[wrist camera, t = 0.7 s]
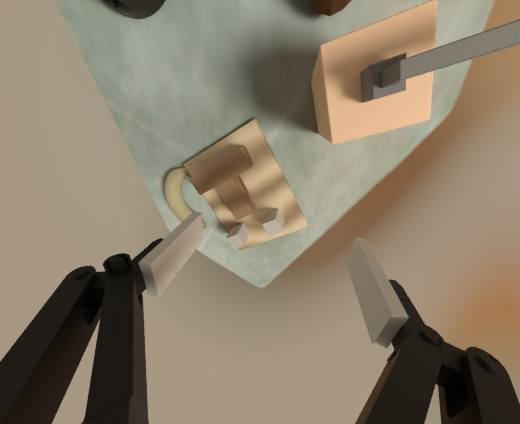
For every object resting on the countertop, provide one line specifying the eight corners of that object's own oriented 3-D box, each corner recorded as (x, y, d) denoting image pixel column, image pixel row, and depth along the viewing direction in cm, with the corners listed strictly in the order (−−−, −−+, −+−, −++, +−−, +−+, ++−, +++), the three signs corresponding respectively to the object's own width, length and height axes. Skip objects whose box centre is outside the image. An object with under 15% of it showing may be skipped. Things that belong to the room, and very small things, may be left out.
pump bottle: (318, 134, 34) (343, 153, 15) (310, 79, 31) (328, 10, 11) (400, 112, 30) (577, 98, 11) (400, 47, 27) (651, -133, 8)
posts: (233, 227, 45) (225, 238, 41) (278, 208, 41) (275, 219, 36) (239, 236, 46) (233, 249, 41) (284, 219, 42) (282, 231, 37)
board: (185, 163, 41) (183, 164, 40) (255, 118, 35) (254, 118, 34) (241, 248, 49) (240, 250, 48) (307, 224, 42) (308, 226, 41)
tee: (198, 172, 41) (188, 177, 37) (244, 145, 36) (238, 148, 33) (227, 218, 44) (221, 227, 41) (273, 198, 40) (270, 206, 36)
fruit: (185, 227, 50) (177, 234, 47) (161, 170, 44) (152, 174, 41) (209, 225, 48) (203, 231, 45) (189, 165, 42) (180, 169, 39)
